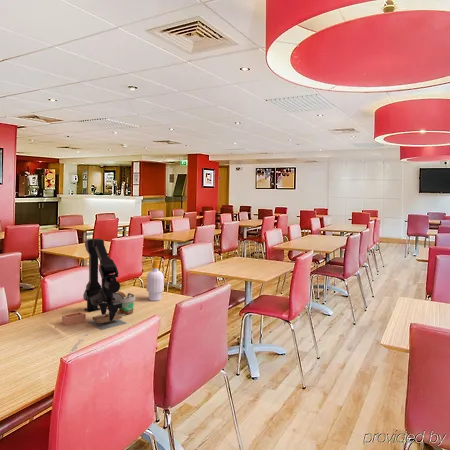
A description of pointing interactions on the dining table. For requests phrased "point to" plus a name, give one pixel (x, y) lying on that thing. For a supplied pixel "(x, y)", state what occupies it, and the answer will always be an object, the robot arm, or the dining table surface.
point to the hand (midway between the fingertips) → (107, 318)
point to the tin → (118, 295)
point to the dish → (73, 318)
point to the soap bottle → (155, 282)
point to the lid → (106, 318)
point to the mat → (107, 324)
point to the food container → (127, 304)
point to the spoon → (77, 344)
